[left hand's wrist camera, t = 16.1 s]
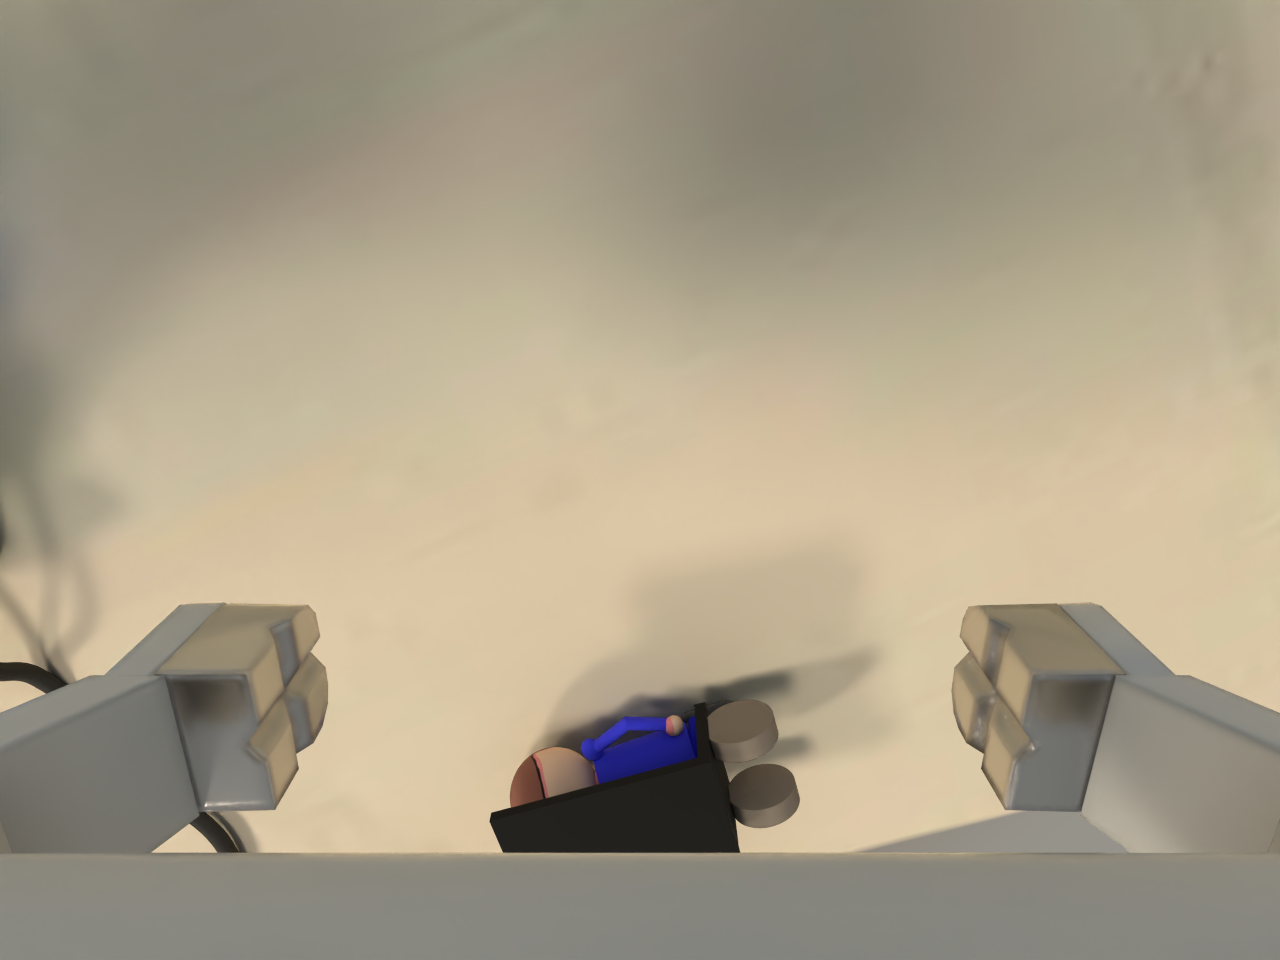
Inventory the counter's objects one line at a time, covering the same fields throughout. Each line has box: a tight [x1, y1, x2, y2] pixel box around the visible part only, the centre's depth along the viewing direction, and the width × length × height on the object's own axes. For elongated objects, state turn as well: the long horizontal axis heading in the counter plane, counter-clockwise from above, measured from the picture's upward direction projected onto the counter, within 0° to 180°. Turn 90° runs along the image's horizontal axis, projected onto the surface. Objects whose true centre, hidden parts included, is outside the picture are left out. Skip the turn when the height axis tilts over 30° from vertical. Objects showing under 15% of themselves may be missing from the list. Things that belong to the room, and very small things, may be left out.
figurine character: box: [490, 700, 800, 853], centre depth 42 cm, size 7×8×15 cm
